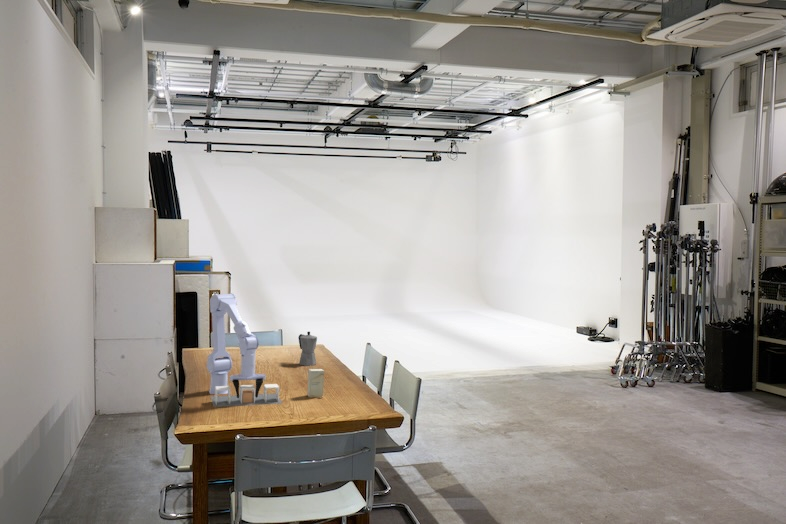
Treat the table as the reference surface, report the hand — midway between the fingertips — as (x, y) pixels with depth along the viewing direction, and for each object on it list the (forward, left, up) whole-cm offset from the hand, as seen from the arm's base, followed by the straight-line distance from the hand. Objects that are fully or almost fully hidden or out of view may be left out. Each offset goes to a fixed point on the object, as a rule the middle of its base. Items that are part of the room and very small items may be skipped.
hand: (247, 397), depth 277 cm
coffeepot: (-76, +41, -3) cm, 86 cm away
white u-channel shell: (0, 0, -2) cm, 2 cm away
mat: (-2, 0, -2) cm, 3 cm away
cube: (0, 0, -2) cm, 2 cm away
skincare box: (-4, +30, -3) cm, 30 cm away
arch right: (0, +10, -2) cm, 10 cm away
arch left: (0, -10, -2) cm, 10 cm away
